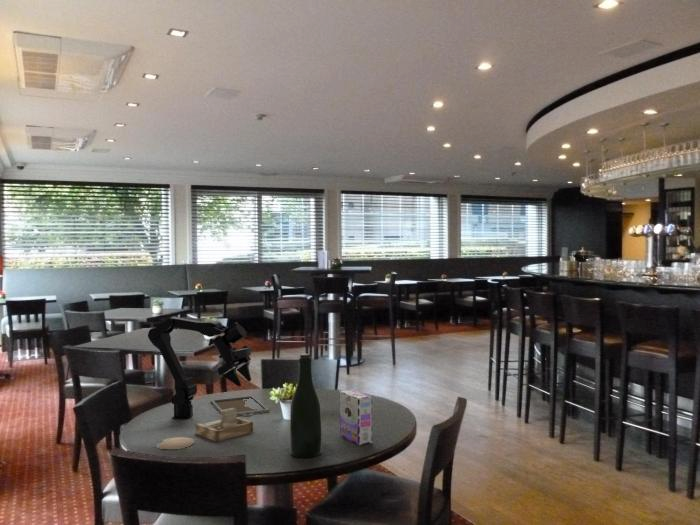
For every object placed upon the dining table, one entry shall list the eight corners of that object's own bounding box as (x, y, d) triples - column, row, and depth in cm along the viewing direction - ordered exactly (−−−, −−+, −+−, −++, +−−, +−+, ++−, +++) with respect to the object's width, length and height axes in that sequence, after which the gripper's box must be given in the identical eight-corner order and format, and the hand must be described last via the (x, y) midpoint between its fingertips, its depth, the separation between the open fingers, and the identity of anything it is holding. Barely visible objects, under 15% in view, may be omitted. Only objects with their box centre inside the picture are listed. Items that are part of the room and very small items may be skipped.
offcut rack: (195, 433, 213) (195, 423, 213) (231, 424, 224) (231, 415, 224) (216, 441, 203) (216, 431, 203) (252, 431, 214) (252, 422, 214)
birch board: (220, 435, 211) (220, 410, 211) (232, 431, 214) (232, 407, 214) (225, 436, 209) (225, 412, 208) (236, 433, 212) (236, 409, 212)
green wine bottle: (293, 460, 184) (292, 357, 184) (287, 449, 194) (286, 352, 194) (325, 456, 187) (324, 355, 187) (317, 446, 197) (317, 350, 197)
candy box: (372, 443, 200) (372, 396, 200) (358, 446, 197) (358, 398, 197) (353, 432, 212) (352, 388, 212) (339, 435, 209) (338, 390, 209)
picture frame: (252, 395, 266) (271, 410, 239) (252, 398, 266) (271, 414, 239) (210, 399, 258) (225, 416, 231) (210, 403, 258) (225, 420, 231)
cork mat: (148, 449, 195) (148, 448, 195) (165, 437, 208) (165, 436, 208) (185, 450, 194) (185, 449, 194) (199, 438, 207) (199, 437, 207)
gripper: (230, 342, 218) (251, 378, 217) (251, 335, 237) (270, 368, 235) (208, 357, 221) (228, 392, 219) (230, 349, 239) (249, 382, 237)
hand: (245, 383), depth 227 cm, fingers open, 9 cm apart
